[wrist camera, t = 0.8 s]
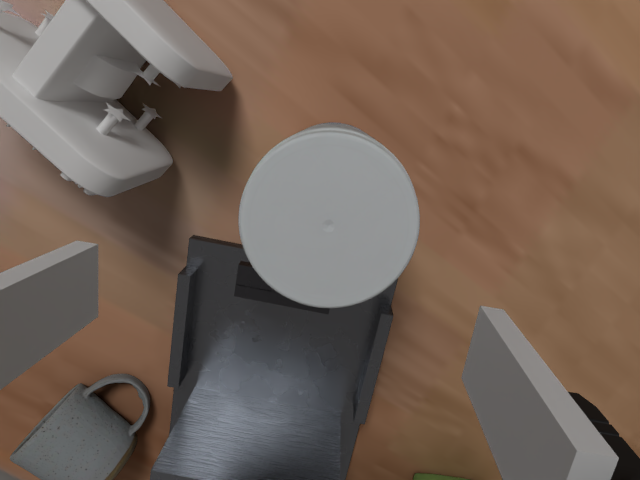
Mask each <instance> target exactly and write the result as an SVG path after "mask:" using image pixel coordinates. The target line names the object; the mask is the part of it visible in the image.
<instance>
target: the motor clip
mask: <svg viewBox="0 0 640 480" xmlns="http://www.w3.org/2000/svg"><path fill="white" fill-rule="evenodd" d="M397 280H398V279H396V280H395V281H394V282H393V283H392V284H391V285H390V286H389V287H388V288H386V289H385V290H384V291H383V292H381V293H380V294H378V295H376V296H375V297H373V298H371V299H369V300H366V301H364V302H362V303H358V304H355V305H352V306H347V307H340V308H318V307H312V306H307V305H304V304H300V303H298V302H295V301H293V300H291V299H288V298H286V297H285V296H283V295H281V294H280V293H278V292H277V291H275V290H274V289H272V288H271V287H270V286H269V285H268V284H267V283H266V282H265V281H264V280H263V279H262V278H261V277H260V276H259V275H258V274H257V272H256V271H255V270H254V268H253V267H252V265H251V263H250V262H249V260H248V258H247V256H246V253H245V251H244V248H243V245H241V244H236V243H231V242H226V241H221V240H216V239H211V238H206V237H200V236H195V235H193V236H192V237H190V238H189V247H188V257H187V266H186V267H185V268H184V269H183V270H182V271H181V272H180V273H179V274H178V282H177V292H176V302H175V313H174V323H173V333H172V344H171V354H170V365H169V375H168V385H167V386H169V387H174V394H173V404H172V413H171V423H170V433H169V437H168V439H167V441H166V443H165V445H164V447H163V449H162V450H161V452H160V454H159V456H158V458H157V460H156V462H155V464H154V466H153V467H152V469H151V475H150V480H345V479H346V475H347V471H348V467H349V463H350V460H351V456H352V452H353V448H354V444H355V441H356V437H357V433H358V429H359V425H360V424H365V421H366V417H367V413H368V409H369V406H370V402H371V398H372V394H373V391H374V387H375V383H376V379H377V376H378V372H379V368H380V364H381V360H382V357H383V353H384V349H385V345H386V342H387V338H388V334H389V330H390V327H391V323H392V319H393V312H392V308H391V303H392V299H393V295H394V291H395V287H396V284H397Z"/></svg>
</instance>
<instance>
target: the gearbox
mask: <svg viewBox="0 0 640 480" xmlns="http://www.w3.org/2000/svg"><path fill="white" fill-rule="evenodd" d="M413 480H469V479H464V478H457V477H451V476H444V475H437V474H422V473H415V475H414V478H413Z"/></svg>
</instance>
